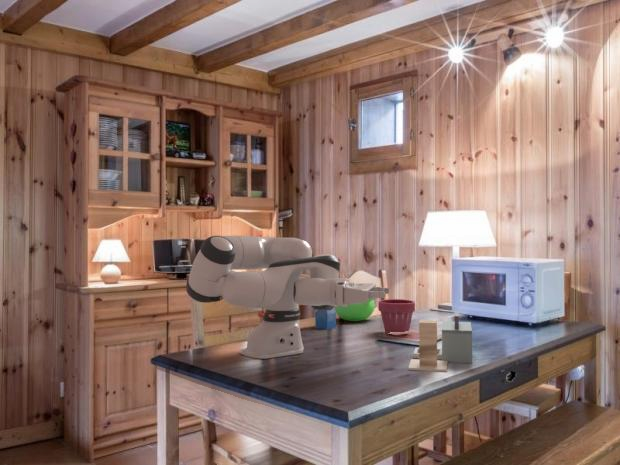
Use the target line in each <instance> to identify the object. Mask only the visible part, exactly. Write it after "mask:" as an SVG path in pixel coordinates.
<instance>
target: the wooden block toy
mask: <svg viewBox="0 0 620 465" xmlns="http://www.w3.org/2000/svg"><path fill="white" fill-rule="evenodd" d="M459 318H460V317H459V310H454V321H449V320H448V321H447V320H446V321H445V320H444V321H442V326H441V348H439V347H437V360H442V361H447V363H455V364H458V363H459V364H473V329H472V323H471V321H460V320H459ZM413 359H419V347H414V351H413Z"/></svg>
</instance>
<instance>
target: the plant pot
mask: <svg viewBox="0 0 620 465" xmlns="http://www.w3.org/2000/svg"><path fill="white" fill-rule="evenodd" d="M377 302H378V303H377V304H378V306H377V308H378V311H379V312H380V315H381V320H382V323H383V328H384V333H385V334H386V333H390V332H405V331H409V332H410V327H411V323H412V317H413V313H414V312H415V311H416V301H414V300H410V299H402V298H401V299H399V298H398V299H397V298H390V299H389V298H387V299H381V300H378V301H377Z"/></svg>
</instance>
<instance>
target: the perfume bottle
mask: <svg viewBox="0 0 620 465" xmlns="http://www.w3.org/2000/svg"><path fill="white" fill-rule="evenodd" d="M335 328H337V313H336V311H335V308H333V309H332V310H321V309H317V310H315V329H321V330H331V329H335Z"/></svg>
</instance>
